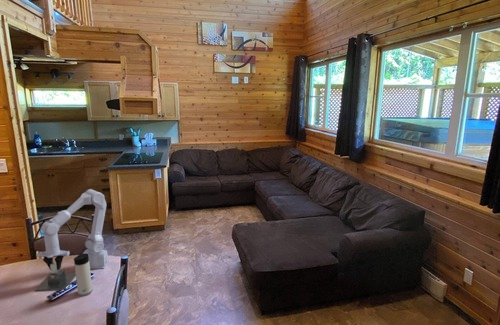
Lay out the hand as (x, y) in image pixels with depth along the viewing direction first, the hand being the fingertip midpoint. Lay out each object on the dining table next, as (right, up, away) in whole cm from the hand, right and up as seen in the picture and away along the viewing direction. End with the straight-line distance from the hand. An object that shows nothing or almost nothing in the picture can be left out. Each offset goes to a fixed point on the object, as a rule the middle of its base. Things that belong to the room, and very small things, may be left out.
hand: (55, 268), depth 156 cm
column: (0, -7, +1) cm, 7 cm away
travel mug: (+19, -10, -6) cm, 22 cm away
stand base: (0, -7, +2) cm, 8 cm away
